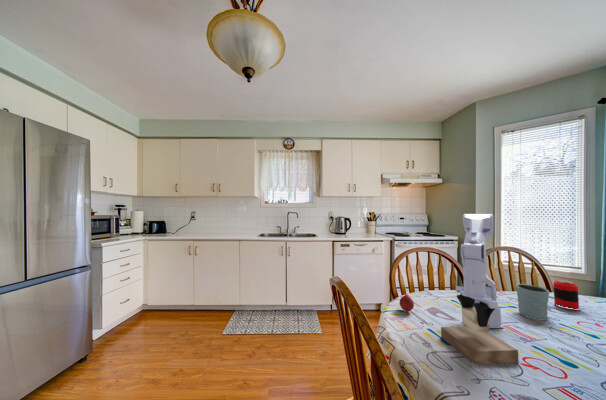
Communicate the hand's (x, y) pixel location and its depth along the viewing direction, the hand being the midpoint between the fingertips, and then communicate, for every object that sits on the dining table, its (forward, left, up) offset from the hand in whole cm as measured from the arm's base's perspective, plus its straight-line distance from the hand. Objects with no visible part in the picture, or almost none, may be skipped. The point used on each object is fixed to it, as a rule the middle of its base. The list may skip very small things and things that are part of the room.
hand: (475, 321), depth 73 cm
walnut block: (0, 0, -9) cm, 9 cm away
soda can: (-71, -30, -9) cm, 78 cm away
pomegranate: (+9, -27, -9) cm, 30 cm away
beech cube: (0, 0, -2) cm, 2 cm away
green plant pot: (-45, -22, -9) cm, 51 cm away
